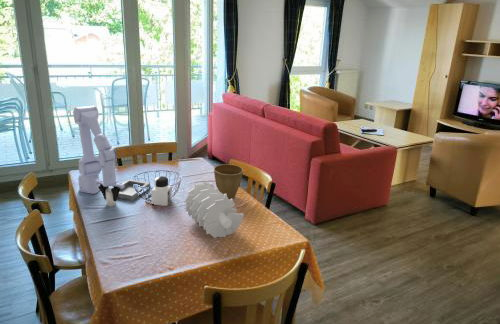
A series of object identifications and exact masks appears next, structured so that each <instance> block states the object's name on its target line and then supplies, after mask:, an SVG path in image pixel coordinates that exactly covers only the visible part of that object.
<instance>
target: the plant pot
mask: <svg viewBox="0 0 500 324" xmlns="http://www.w3.org/2000/svg"><path fill="white" fill-rule="evenodd" d="M213 173H214V181H215V186H216V187H217V188H218V190H219V191H220V192H221V193H222V194H227V197H228V199H229V200H230V199H233V200H234V199H235V197H236V195H237V192H238V191H239V187H240V184H241V182H242V177H243V174H244V168H243V167H241V166H239V165H237V164H231V163H230V164H227V163H224V164H219V165H218V164H217V165H216V166H214V167H213Z"/></svg>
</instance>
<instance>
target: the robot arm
mask: <svg viewBox="0 0 500 324" xmlns="http://www.w3.org/2000/svg"><path fill="white" fill-rule="evenodd" d="M72 113H73V115H72V116H73V120H74V123H75V124H78V131H79V136H80V142H81V148H82V154H83V156H82V157H81V158H80V159H79V160H78V172H79V175H78V187H79V188H78V192H81V193H87V194H92V195H94V194H97V193H99V191H100V192H101V194H102V196H103V199H104V201H106V192H105V191H106V188H109V187H113V188H112V189H111V191H112V194H113V200H114V201H116V202H117V201H118V194H119V192H120V189H123V188H124V187H125V186H124V184H123V182H120V181H119V180H117V178H116V177H117V176H116V174H117V173H116V162H115V160H117V155H118V153H117V151H116V149H115V148H114V147H113V145H111V144H110V141H109V140H108V137H107V136H106V134H103V132H102V129H101V125H100V123H99V109H98V107H97V106H96V105H93V104H92V105H88V106H75V107H74V109H73V112H72ZM92 135H93V137H94V138H92ZM92 139H93V140H92ZM93 142H94V144H95V146H96V148H97V150H98V154H97V156H96V155H95V152H94V145H93ZM100 172H102V179H101V178H100V174H101V173H100Z"/></svg>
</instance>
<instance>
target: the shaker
mask: <svg viewBox="0 0 500 324" xmlns="http://www.w3.org/2000/svg"><path fill="white" fill-rule="evenodd" d="M112 188H114V187H112V186H109V188H106V191H105V192H106V200H105V202H106V206H107V207H114V206H116V205H117V201H114V200H113V194H112V191H111V189H112Z"/></svg>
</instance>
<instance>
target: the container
mask: <svg viewBox="0 0 500 324" xmlns="http://www.w3.org/2000/svg"><path fill="white" fill-rule="evenodd" d="M153 183H154V187H153V188H152V189H150V190H151V191H150V195H151V196H150V197H151V205H152V204H154V205H153V206H163V207H168V205H169V203H170V202H171V200H172V186H171V185H169V178H168V177H166V176H163V175H162V176H157V177H155V178H154V181H153Z"/></svg>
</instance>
